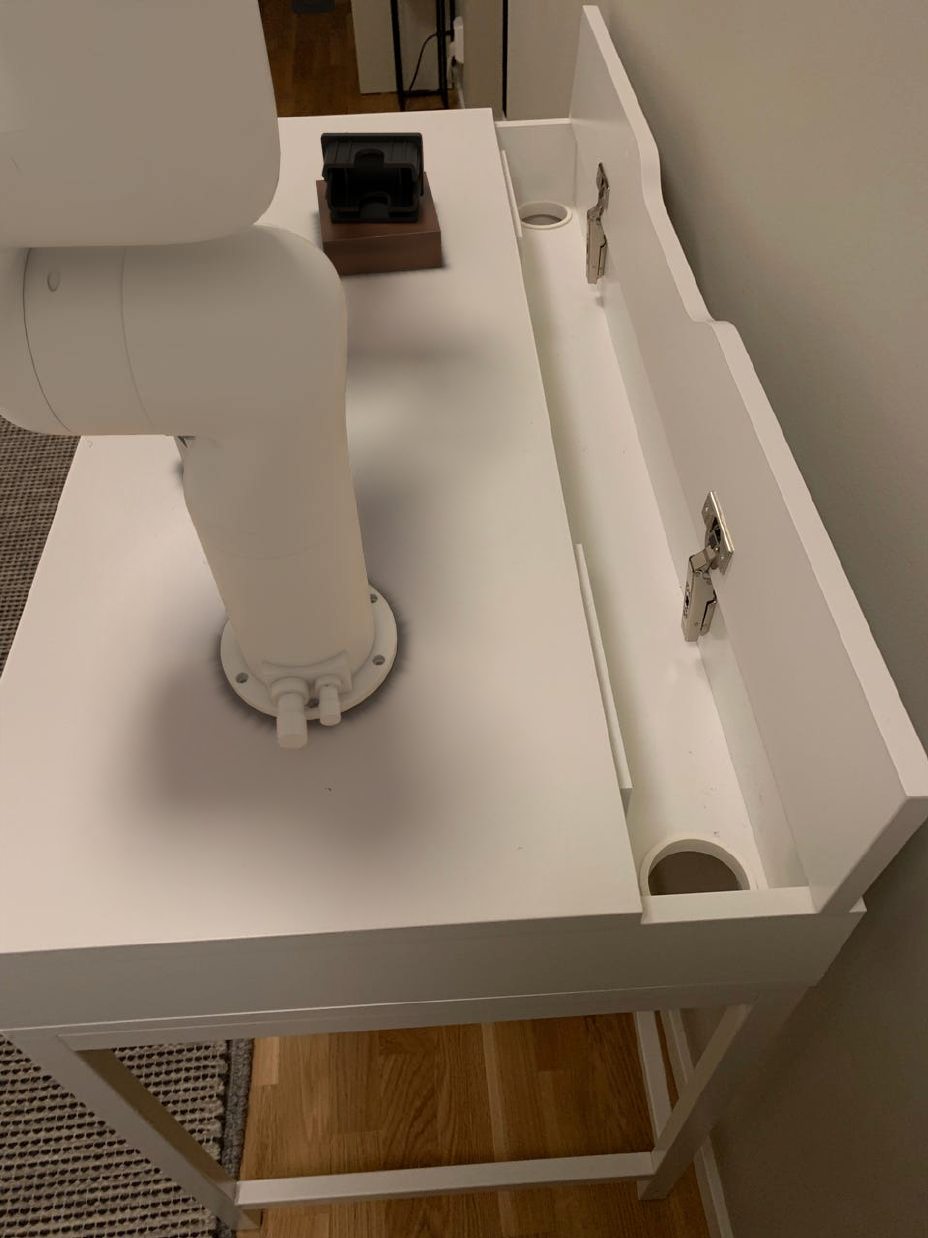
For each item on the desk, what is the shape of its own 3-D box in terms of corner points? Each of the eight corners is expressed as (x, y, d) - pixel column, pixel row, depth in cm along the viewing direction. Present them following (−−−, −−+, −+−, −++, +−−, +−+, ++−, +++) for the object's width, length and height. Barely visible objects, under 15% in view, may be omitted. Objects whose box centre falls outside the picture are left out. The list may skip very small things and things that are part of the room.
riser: (441, 266, 92) (441, 230, 89) (327, 277, 91) (322, 241, 88) (427, 206, 99) (426, 170, 96) (320, 215, 98) (315, 179, 95)
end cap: (425, 186, 94) (422, 120, 88) (423, 223, 89) (420, 156, 84) (331, 187, 94) (322, 120, 88) (325, 223, 89) (315, 156, 84)
